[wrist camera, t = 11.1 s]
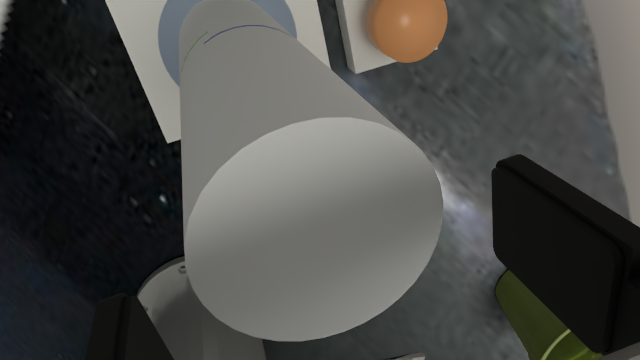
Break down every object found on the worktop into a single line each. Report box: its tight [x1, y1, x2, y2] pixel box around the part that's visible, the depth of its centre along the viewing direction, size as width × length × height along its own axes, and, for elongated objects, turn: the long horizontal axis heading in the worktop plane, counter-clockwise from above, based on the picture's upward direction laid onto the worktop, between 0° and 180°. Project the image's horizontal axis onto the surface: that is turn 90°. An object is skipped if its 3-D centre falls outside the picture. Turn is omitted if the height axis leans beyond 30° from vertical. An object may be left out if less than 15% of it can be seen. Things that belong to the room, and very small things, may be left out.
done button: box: [366, 0, 447, 63], centre depth 32 cm, size 5×5×2 cm
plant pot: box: [495, 270, 603, 360], centre depth 51 cm, size 12×12×11 cm
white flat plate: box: [105, 0, 331, 143], centre depth 34 cm, size 12×14×1 cm
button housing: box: [335, 0, 437, 74], centre depth 35 cm, size 7×7×2 cm
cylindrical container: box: [179, 0, 443, 341], centre depth 23 cm, size 7×7×25 cm
